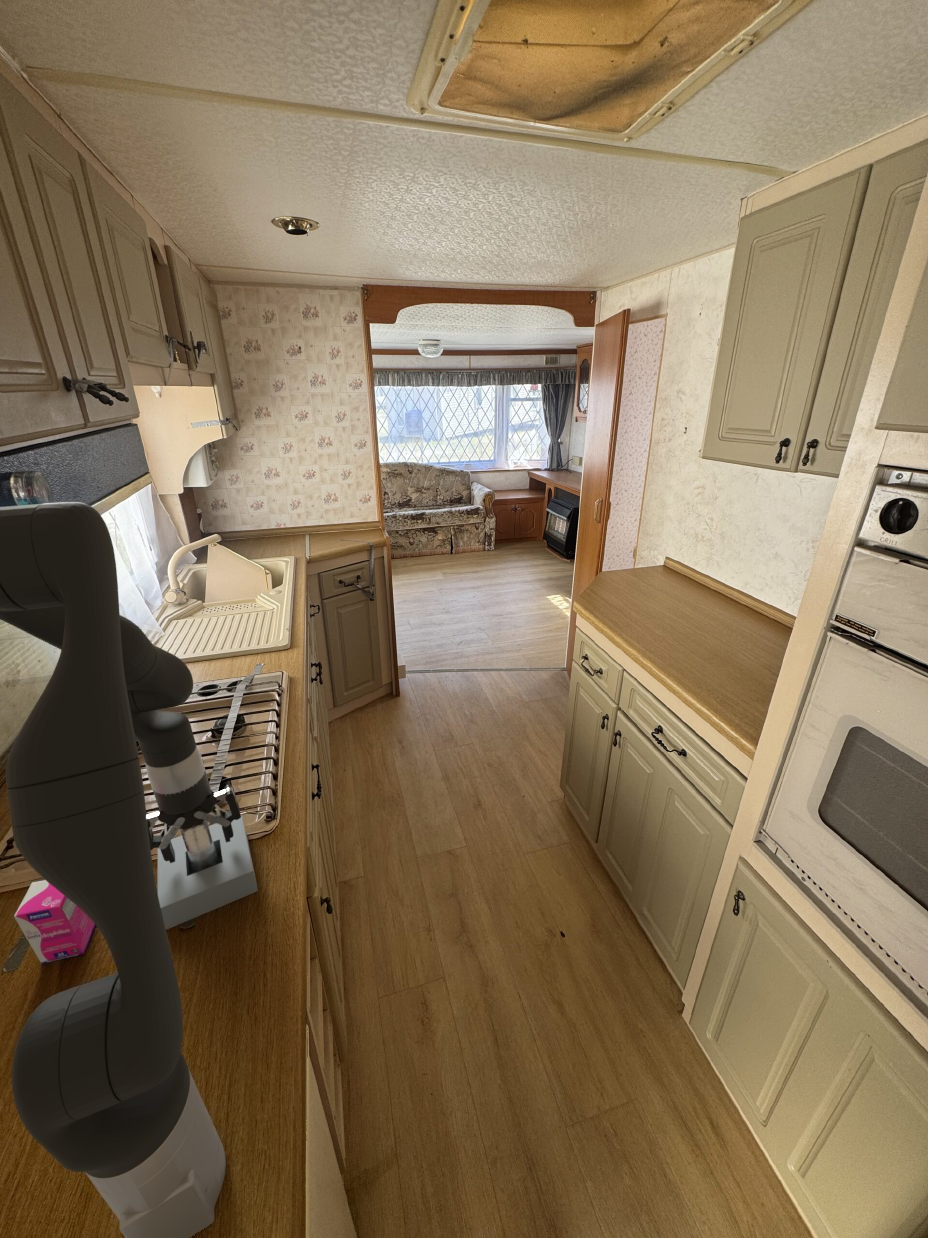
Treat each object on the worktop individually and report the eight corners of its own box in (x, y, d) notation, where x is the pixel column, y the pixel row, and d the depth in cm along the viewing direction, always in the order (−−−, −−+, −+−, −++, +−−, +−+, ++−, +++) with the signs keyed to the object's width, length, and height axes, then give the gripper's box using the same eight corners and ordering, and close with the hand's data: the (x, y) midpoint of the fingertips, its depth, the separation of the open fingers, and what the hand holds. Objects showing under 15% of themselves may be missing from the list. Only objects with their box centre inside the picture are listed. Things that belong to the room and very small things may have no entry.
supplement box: (40, 967, 75) (11, 916, 70) (57, 929, 80) (31, 880, 75) (84, 956, 76) (59, 906, 72) (99, 920, 82) (76, 871, 77)
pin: (221, 876, 88) (207, 826, 82) (196, 886, 86) (180, 836, 81) (219, 859, 91) (205, 810, 86) (195, 868, 89) (179, 819, 84)
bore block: (258, 891, 86) (252, 871, 84) (165, 930, 80) (157, 909, 78) (246, 833, 97) (241, 814, 95) (164, 863, 91) (157, 844, 89)
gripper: (123, 807, 73) (153, 884, 80) (229, 774, 79) (248, 847, 86) (126, 776, 79) (153, 849, 86) (224, 747, 85) (242, 817, 92)
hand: (201, 848), depth 86 cm, fingers open, 8 cm apart
